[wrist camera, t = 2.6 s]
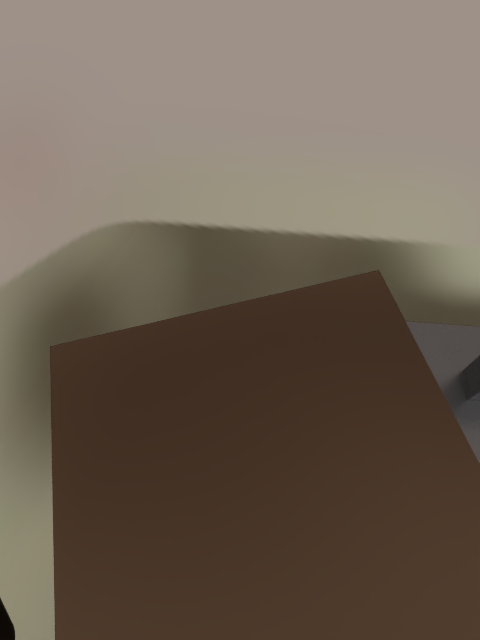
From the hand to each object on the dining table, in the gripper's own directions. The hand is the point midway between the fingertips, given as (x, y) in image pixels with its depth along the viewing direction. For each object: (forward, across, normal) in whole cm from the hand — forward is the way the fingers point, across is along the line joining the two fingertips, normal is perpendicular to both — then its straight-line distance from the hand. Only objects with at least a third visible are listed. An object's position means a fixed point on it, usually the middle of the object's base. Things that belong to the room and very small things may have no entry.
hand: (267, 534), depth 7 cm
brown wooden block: (+6, 0, +6) cm, 8 cm away
